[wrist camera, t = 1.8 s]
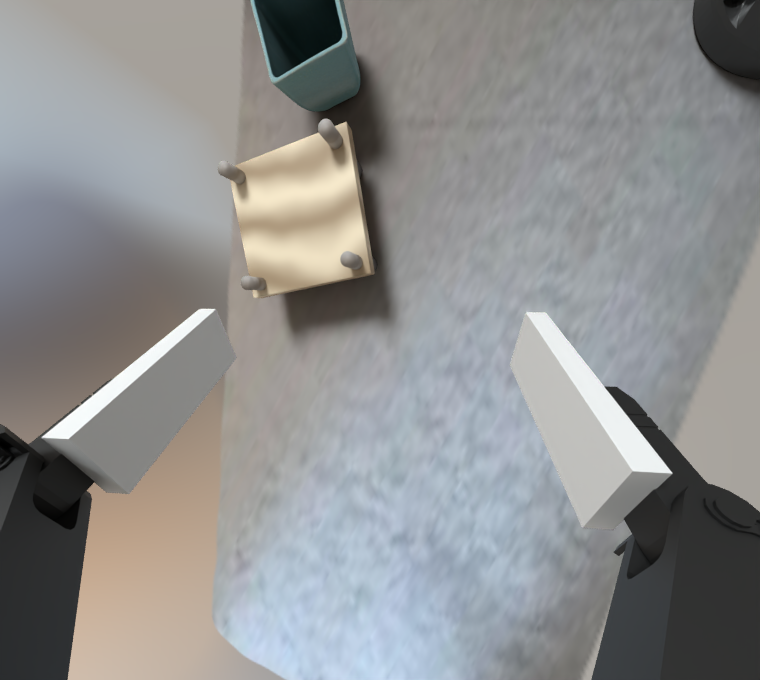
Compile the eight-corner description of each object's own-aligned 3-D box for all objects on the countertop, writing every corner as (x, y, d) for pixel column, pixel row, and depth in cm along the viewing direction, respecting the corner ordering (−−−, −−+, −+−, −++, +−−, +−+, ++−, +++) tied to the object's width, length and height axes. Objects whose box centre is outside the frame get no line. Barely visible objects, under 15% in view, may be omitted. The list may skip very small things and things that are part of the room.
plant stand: (261, 187, 40) (210, 158, 32) (365, 150, 35) (336, 106, 27) (282, 298, 42) (238, 297, 34) (385, 277, 37) (363, 270, 29)
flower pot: (376, 104, 34) (348, 39, 26) (315, 134, 37) (270, 84, 29) (360, 29, 34) (325, -63, 25) (298, 65, 37) (248, -7, 28)
